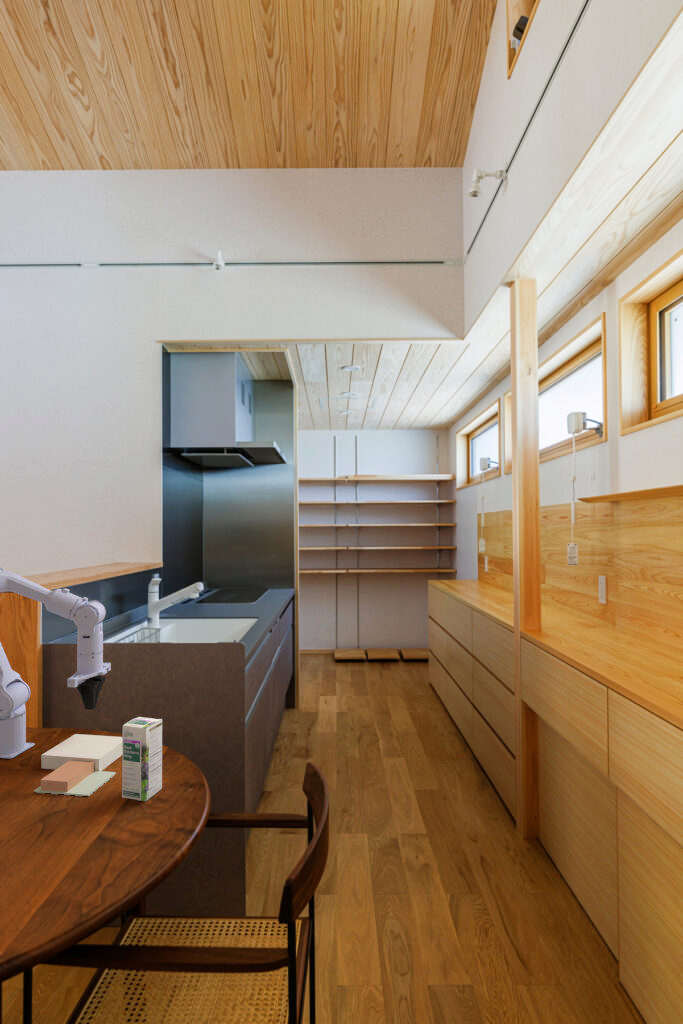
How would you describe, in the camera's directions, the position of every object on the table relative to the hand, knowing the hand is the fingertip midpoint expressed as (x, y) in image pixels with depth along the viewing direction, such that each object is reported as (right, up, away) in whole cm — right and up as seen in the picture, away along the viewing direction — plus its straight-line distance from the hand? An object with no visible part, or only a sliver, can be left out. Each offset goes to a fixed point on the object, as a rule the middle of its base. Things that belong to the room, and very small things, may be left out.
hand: (90, 708), depth 135 cm
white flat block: (+2, -9, -6) cm, 12 cm away
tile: (+3, -9, -18) cm, 20 cm away
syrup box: (+21, -9, -23) cm, 32 cm away
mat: (+5, -9, -18) cm, 21 cm away
